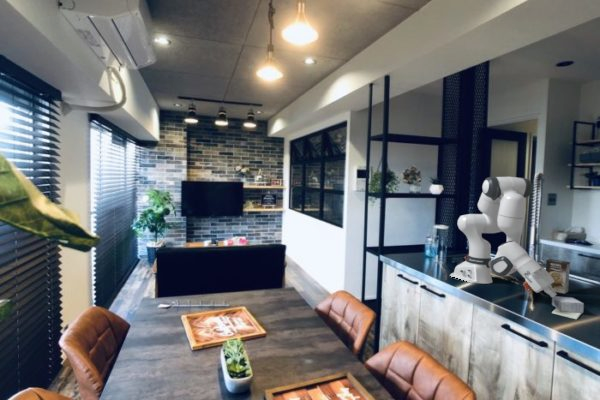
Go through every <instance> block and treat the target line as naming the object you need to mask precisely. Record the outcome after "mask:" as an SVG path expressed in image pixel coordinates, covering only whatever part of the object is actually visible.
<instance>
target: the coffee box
mask: <svg viewBox="0 0 600 400" xmlns="http://www.w3.org/2000/svg"><path fill="white" fill-rule="evenodd" d="M545 261H546V263H545V270H546V271H547V272H548V273H549V274H550V275H551V277H552V278H553V279H554V282H553V283H552V284H550V286H551V287H552V288H553V290H554V291H555V293H559V294H567V293H568V292H569V280H570V271H571V270H570V268H571V262H570V261H565V260H559V259H553V258H548V259H546V260H545Z"/></svg>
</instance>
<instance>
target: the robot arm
mask: <svg viewBox="0 0 600 400" xmlns="http://www.w3.org/2000/svg"><path fill="white" fill-rule="evenodd" d="M481 189H482V191H481V194H480V196H479V200H478V202H477V208H478V210H479V211H480V213H468V214H463V215H459V217H458V219H457V223H456V224H457V227H458V229H459V230H460V231H461V232H462V233H463V235H465V236H466V239H467V241H468V254H467V255H465V256H464V259H465V261H463V262H461V263H459V264H457V265H456V266H455V268H454V271H453V272H452V273H450V274H449V277H450V276H451V277H450V278H452V277H455V278H454V279H456V278H458V279H457V280H459V279H461V280H460V281H463V280H464V282H466V281H467V282H466V283H469V284H470V283H471V284H484V285H485V284H492V283H494V282H493V279H492V273H493V274H494V275H496V276H498V277H506V276H509V275H511V274H513V273H517V272H518V273H519V274H520V275H521V277H522V278H524V280H525V281H526V282H527V283H528V284H529V285H530V287H531V288H532V289H533V290H534V291H533V292H535V293H536V294H538V293H539V292H542V291H544V293H546V294H547V295H549V296H550V298H552V297H554V296H558V293H557V292H555V291H554V290H553V288H552V287H551V286H550V284H552V283H553V282H554V279H553V278H552V277H551V275H550V274H549V273H548V272H547V271H546V268H545V267H544V265H543V264H542V263H540V262H538V261H536V260H535V259H534V258H533V257H531V256H530V255H529V254H528V251H526V250H525V249H524V248H523V246H522V238H523V237H522V235H523V227H524V223H525V217H526V211H527V210H526V198H528V197H530V195H531V194H532V191H533V184H532V181H531V180H530V179H528V178H525V177H517V176H489V177H486V178H485V179H484V180H483V182H482V186H481ZM497 233H504V234H505V235H506V236H505V237H506V242H503V243H501V244H500V245H499V246H498V247H497V252H496V254H495V256H494V258H493V259H492V257H491V252H492V251H491V250H492V249H491V248H492V246H491V245H492V244H491V243H490V242H489V241H488V240H486V239H485V238H484V237H482V235H483V234H497Z"/></svg>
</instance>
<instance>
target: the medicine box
mask: <svg viewBox="0 0 600 400" xmlns="http://www.w3.org/2000/svg"><path fill="white" fill-rule="evenodd" d="M551 305H552V307H555V309H556V308H557V309H559V310H560V311H564V312H578V313H582V314H584V308H585V304H584V302H582V301H580V300H579V299H576V298H574V297H572V296H558V295H556V296H554V297H551Z"/></svg>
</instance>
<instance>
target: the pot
mask: <svg viewBox="0 0 600 400" xmlns="http://www.w3.org/2000/svg"><path fill="white" fill-rule="evenodd" d="M522 285H523V287H524V289H525V291H526V292H528V291H533V292H535V291H534V290H533V289H532V288H531V287H530V285H529V284H528V283H527V282H526V280H525V281H524V282H523V283H522Z"/></svg>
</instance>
